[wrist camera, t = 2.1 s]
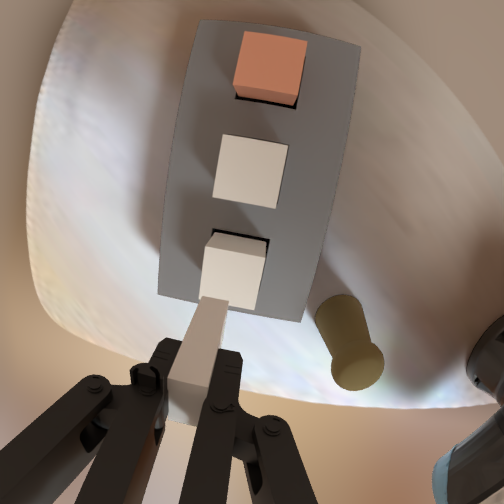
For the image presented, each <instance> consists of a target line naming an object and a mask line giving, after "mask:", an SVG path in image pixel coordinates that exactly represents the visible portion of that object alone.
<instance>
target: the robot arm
mask: <svg viewBox="0 0 504 504" xmlns="http://www.w3.org/2000/svg"><path fill="white" fill-rule="evenodd" d="M228 305H229V301H227V300H221V299H216V298H211V297H206V296H202V297H201V300H200V302H199V304H198V306H197V309H196V311H195V313H194V316H193V318H192V320H191V323H190V325H189V327H188V330H187V332H186V334H185V337H184V339H183V341H179V340H175V339H171V338H167V337H166V338H165V339H163V340H162V341H160V342H159V343H158V345H157V347H156V349H155V351H154V353H153V355H152V357H151V359H150V361H149V362H148V363H140V364H137V365H135V366H133V367H132V368H131V369H130V377H131V384H130V385H111V384H110V382H109V380H107V379H106V378H105V377H103V376H100V375H89V376H87V377H85V378H83V379H82V380H81V381H80V382H78V383H77V384H76V385H75V386H74V387H73V388H71V389H70V390H69V391H68V392H67V393H66V394H64V395H63V396H62V397H61V398H60V399H59V400H57V401H56V402H55V403H54V404H53V405H52V406H51V407H50V408H48V409H47V410H46V411H45V412H44V413H43V414H41V415H40V416H39V417H38V418H37V419H36V420H34V421H33V422H32V423H31V424H30V425H29V426H28V427H26V428H25V429H24V430H23V431H22V432H21V433H20V434H19V435H17V436H16V437H15V438H14V439H13V440H12V441H11V442H10V443H8V444H7V445H6V446H5V447H4V448H3V449H2V450H0V504H53V502H54V501H55V500H56V499H57V498H58V497H59V496H60V495H61V493H63V491H64V490H65V489H66V488H67V487H68V486H69V485H70V484H71V483H72V481H73V480H74V479H75V478H76V477H77V476H78V475H79V474H80V472H81V471H82V470H83V469H84V468H85V467H86V466H87V465H88V464H89V462H90V461H91V460H92V459H93V458H94V457H95V456H96V457H95V459H94V461H93V463H92V465H91V468H90V470H89V472H88V474H87V476H86V479H85V481H84V483H83V485H82V488H81V490H80V492H79V494H78V497H77V499H76V501H75V503H74V504H142V500H143V497H144V494H145V490H146V487H147V484H148V481H149V478H150V475H151V472H152V468H153V465H154V462H155V459H156V456H157V453H158V450H159V447H160V444H161V441H162V438H163V435H164V432H165V421H166V418H167V415H168V420H171V421H175V422H179V423H183V424H187V425H192V426H196V427H197V429H196V434H195V437H194V442H193V446H192V450H191V454H190V458H189V462H188V466H187V470H186V475H185V479H184V483H183V487H182V491H181V496H180V500H179V504H226V500H227V493H228V485H229V478H230V470H231V461H232V456H233V457H236V458H237V459H240V460H242V461H243V464H244V468H245V473H246V477H247V482H248V486H249V491H250V494H251V499H252V503H253V504H318V502H317V500H316V497H315V495H314V492H313V489H312V487H311V484H310V481H309V479H308V476H307V474H306V470H305V468H304V465H303V462H302V460H301V457H300V454H299V451H298V449H297V446H296V443H295V440H294V438H293V435H292V432H291V429H290V427H289V425H288V424H287V422H286V421H285V420H283V419H282V418H280V417H278V416H274V415H267V416H262V417H261V418H257V417H255V416H252V415H250V414H248V413H246V412H245V411H244V410H243V409H242V408H241V406H240V405H239V402H238V397H239V388H240V380H241V372H242V364H243V359H242V357H241V355H240V353H239V352H235V351H230V350H225V349H221V345H222V341H223V335H224V329H225V323H226V317H227V311H228ZM467 375H468V378H469V379H470V380H471V382H472V383H473V385H474V386H475V387H477V388H478V389H480V390H482V391H483V392H485V393H487V394H488V395H490V396H492V397H493V398H495V399H496V401H497V402H498V404H499V405H500V407H501V408H500V409H499V410H498V411H497V412H496V413H495V414H494V415H493V416H492V417H490V418H489V419H488V420H487V421H486V422H485V423H484V424H483V425H482V426H480V427H479V428H478V429H477V430H476V431H474V432H473V433H472V434H471V435H470V436H468V437H467V438H466V439H464V440H463V441H462V442H460V443H459V444H456V445H455V446H454V447H453V448H452V449H451V450H450V451H449V452H447V453H446V454H445V455H444V456H442V457H441V458H440V459H439V460H438V461H437V462H436V464H435V466H434V470H433V473H432V489H433V494H434V498H435V501H436V504H504V316H502V317H501V318H499V319H498V320H497V321H496V322H495V323H494V324H493V325H492V326H491V327H490V328H489V329H488V330H487V331H486V332H485V334H484V335H483V336H482V337H481V339H480V340H479V342H478V343H477V345H476V346H475V348H474V350H473V352H472V354H471V356H470V359H469V362H468V366H467Z"/></svg>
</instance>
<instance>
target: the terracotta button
mask: <svg viewBox="0 0 504 504" xmlns="http://www.w3.org/2000/svg"><path fill="white" fill-rule="evenodd" d="M307 42H308V41H304V40H299V39H294V38H289V37H283V36H277V35H271V34H264V33H257V32H248V31H245V32H244V36H243V40H242V44H241V49H240V53H239V58H238V62H237V67H236V71H235V76H234V81H233V86H234V88H235V90H236V92H237V94H238V96H241V97H248V98H254V99H260V100H266V101H272V102H277V103H283V104H288V105H292V106H293V105H294V103H295V100H296V98H297V96H298V91H299V86H300V81H301V75H302V70H303V64H304V59H305V53H306V48H307Z"/></svg>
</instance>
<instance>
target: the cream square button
mask: <svg viewBox="0 0 504 504" xmlns="http://www.w3.org/2000/svg"><path fill="white" fill-rule="evenodd" d="M265 257H266V242H265V241H260V240H254V239H249V238H244V237H239V236H233V235H228V234H223V233H217V232H215V233H214V234H213V236H212V237H211V239H210V240H209V241H208V243H207V244H206V246H205V251H204V259H203V267H202V275H201V283H200V292H199V299H200V300H201V297H202V296H206V297H211V298H216V299H221V300H227V301H229V306H234V307H239V308H244V309H250V310H254V309H255V304H256V300H257V295H258V291H259V286H260V281H261V276H262V272H263V267H264V262H265Z"/></svg>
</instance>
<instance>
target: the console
mask: <svg viewBox="0 0 504 504" xmlns="http://www.w3.org/2000/svg"><path fill="white" fill-rule="evenodd" d="M245 31H248V32H257V33H264V34H271V35H277V36H283V37H289V38H294V39H299V40H304V41H308V42H307V48H306V53H305V59H304V66H303V72H302V77H301V83H300V88H299V93H298V99H297V104H296V109H290V108H285V107H280V106H274V105H269V104H263V103H257V102H251V101H244V100H237V99H236V98H237V92H236V90H235V88H234V86H233V81H234V76H235V71H236V67H237V62H238V58H239V53H240V49H241V44H242V40H243V36H244V32H245ZM360 52H361V46H357V45H354V44H351V43H348V42H344V41H341V40H337V39H333V38H330V37H326V36H322V35H318V34H313V33H309V32H304V31H299V30H294V29H289V28H283V27H277V26H271V25H264V24H256V23H247V22H236V21H223V20H200V21H199V25H198V28H197V32H196V36H195V39H194V43H193V47H192V51H191V55H190V59H189V63H188V67H187V72H186V76H185V81H184V85H183V90H182V95H181V99H180V104H179V110H178V115H177V120H176V126H175V131H174V137H173V143H172V150H171V156H170V163H169V170H168V177H167V185H166V193H165V202H164V211H163V221H162V232H161V244H160V258H159V274H158V295H162V296H167V297H171V298H175V299H180V300H184V301H189V302H193V303H198V304H199V302H200V299H199V292H200V283H201V275H202V267H203V259H204V251H205V246H206V244H207V243H208V241H209V240H210V239H211V237H212V236H213V231H214V228H215V229H220V230H225V231H231V232H236V233H241V234H247V235H252V236H257V237H262V238H267V239H270V240H269V245H268V250H267V254H266V259H265V264H264V269H263V273H262V278H261V281H260V286H259V291H258V295H257V300H256V304H255V309H254V310H250V309H244V308H239V307H234V306H229V305H228V310H232V311H237V312H242V313H247V314H253V315H258V316H264V317H269V318H275V319H281V320H287V321H293V322H300V323H301V320H302V316H303V313H304V310H305V307H306V303H307V300H308V296H309V293H310V290H311V286H312V283H313V279H314V276H315V272H316V268H317V265H318V261H319V257H320V254H321V250H322V246H323V242H324V238H325V234H326V230H327V226H328V222H329V218H330V214H331V210H332V206H333V201H334V197H335V193H336V188H337V184H338V179H339V175H340V170H341V165H342V160H343V155H344V150H345V145H346V140H347V135H348V129H349V124H350V118H351V113H352V107H353V101H354V95H355V88H356V81H357V75H358V68H359V60H360ZM223 134H225V135H234V136H241V137H247V138H253V139H258V140H264V141H269V142H275V143H280V144H285V145H289V146H288V151H287V156H286V161H285V166H284V171H283V176H282V181H281V186H280V191H279V196H278V201H277V204H276V209H274V208H269V207H264V206H258V205H253V204H248V203H242V202H237V201H231V200H226V199H220V198H214V197H212V196H213V189H214V183H215V177H216V171H217V165H218V159H219V153H220V148H221V142H222V137H223Z"/></svg>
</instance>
